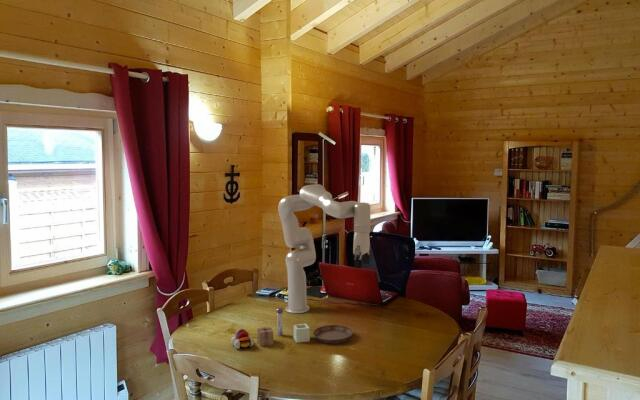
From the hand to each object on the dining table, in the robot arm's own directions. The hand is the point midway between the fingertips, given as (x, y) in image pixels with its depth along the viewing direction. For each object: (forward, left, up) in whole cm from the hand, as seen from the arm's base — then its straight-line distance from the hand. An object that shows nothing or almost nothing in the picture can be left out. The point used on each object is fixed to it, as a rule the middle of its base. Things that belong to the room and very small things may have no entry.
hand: (362, 265), depth 245 cm
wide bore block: (+7, -31, -29) cm, 43 cm away
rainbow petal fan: (+6, -57, -30) cm, 65 cm away
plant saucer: (+9, -17, -30) cm, 36 cm away
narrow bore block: (+6, -47, -29) cm, 56 cm away
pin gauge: (-1, -39, -29) cm, 49 cm away
